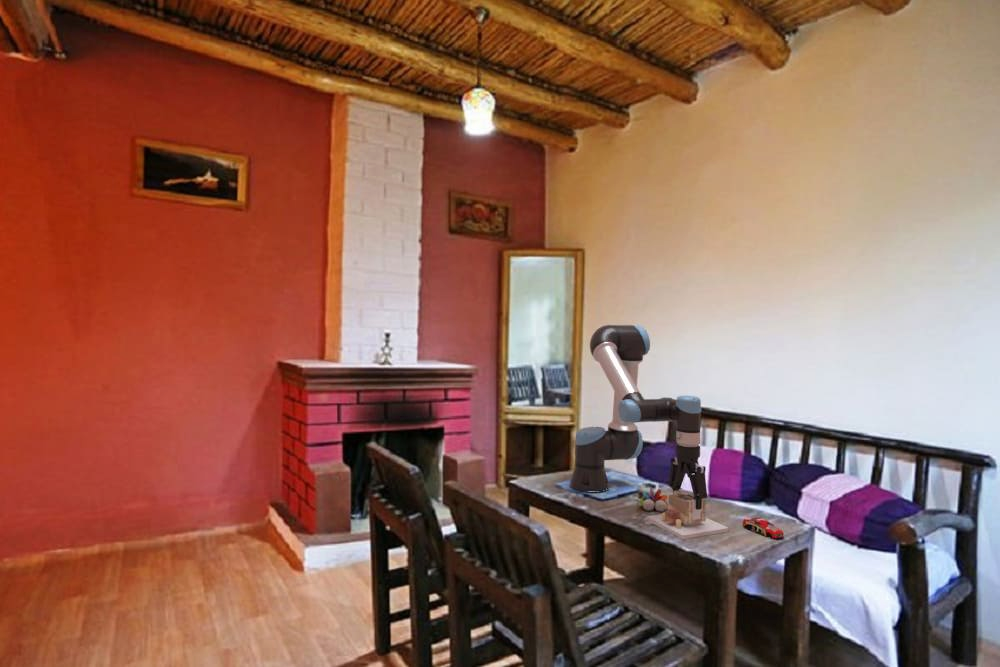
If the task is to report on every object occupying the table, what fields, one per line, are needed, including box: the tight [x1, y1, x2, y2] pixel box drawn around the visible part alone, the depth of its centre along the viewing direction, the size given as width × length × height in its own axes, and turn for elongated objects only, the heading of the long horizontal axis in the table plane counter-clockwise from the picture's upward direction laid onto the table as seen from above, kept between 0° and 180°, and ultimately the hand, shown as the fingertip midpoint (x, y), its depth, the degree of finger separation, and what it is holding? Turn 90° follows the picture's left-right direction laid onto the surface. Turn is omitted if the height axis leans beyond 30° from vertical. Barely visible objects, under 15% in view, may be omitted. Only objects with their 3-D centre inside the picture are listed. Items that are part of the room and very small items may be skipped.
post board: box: [645, 496, 730, 540], centre depth 183 cm, size 18×18×9 cm
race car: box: [742, 517, 784, 540], centre depth 178 cm, size 13×5×4 cm, turn 24°
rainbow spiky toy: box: [639, 487, 669, 513], centre depth 200 cm, size 8×10×7 cm
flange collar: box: [664, 492, 707, 524], centre depth 182 cm, size 12×8×7 cm
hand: (686, 514), depth 183 cm, fingers closed on flange collar, 8 cm apart
